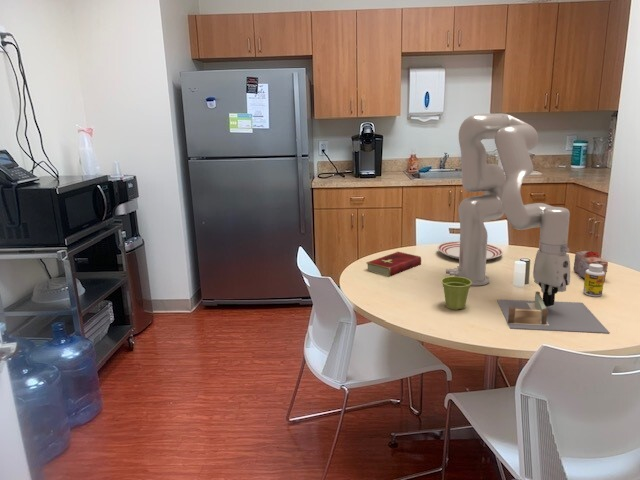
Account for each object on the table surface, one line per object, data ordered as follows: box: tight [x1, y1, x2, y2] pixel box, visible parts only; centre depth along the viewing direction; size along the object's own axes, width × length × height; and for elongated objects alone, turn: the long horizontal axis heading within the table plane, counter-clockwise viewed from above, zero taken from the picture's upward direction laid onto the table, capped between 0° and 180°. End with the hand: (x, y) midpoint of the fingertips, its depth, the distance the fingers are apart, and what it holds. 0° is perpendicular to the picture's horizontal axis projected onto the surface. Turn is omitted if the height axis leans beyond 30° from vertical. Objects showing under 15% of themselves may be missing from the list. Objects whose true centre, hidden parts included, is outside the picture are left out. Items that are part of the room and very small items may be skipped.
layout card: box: [496, 298, 610, 334], centre depth 143 cm, size 26×22×1 cm
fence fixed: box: [508, 307, 548, 324], centre depth 137 cm, size 10×2×5 cm, turn 79°
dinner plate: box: [437, 240, 504, 261], centre depth 206 cm, size 27×27×3 cm
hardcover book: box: [365, 251, 422, 278], centre depth 193 cm, size 12×21×4 cm, turn 133°
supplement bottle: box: [582, 264, 605, 298], centre depth 157 cm, size 6×6×10 cm
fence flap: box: [534, 291, 546, 321], centre depth 144 cm, size 14×1×4 cm, turn 164°
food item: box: [572, 250, 609, 282], centre depth 174 cm, size 14×8×10 cm, turn 176°
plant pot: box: [440, 275, 472, 311], centre depth 151 cm, size 9×9×9 cm
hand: (548, 305), depth 146 cm, fingers closed
